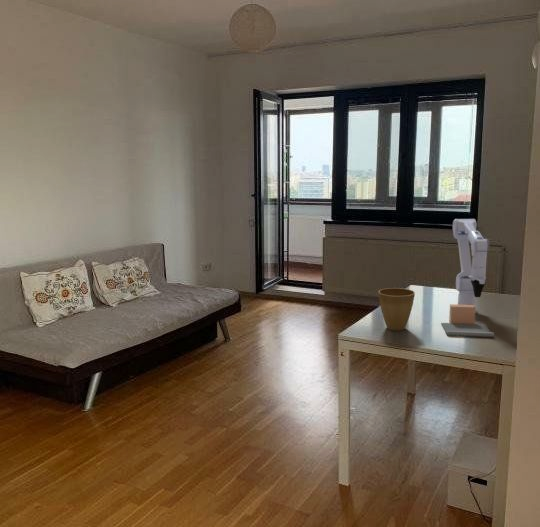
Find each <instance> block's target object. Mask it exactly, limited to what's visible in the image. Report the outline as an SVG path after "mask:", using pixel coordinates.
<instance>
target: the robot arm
mask: <svg viewBox="0 0 540 527" xmlns="http://www.w3.org/2000/svg"><path fill="white" fill-rule="evenodd" d="M477 226H478V225H477V221H476V218H455V219H454V220H453V221H452V234H453V237H454V239H456V240H457V245H458V246H457V247H458V254H459V263H460V272H459V273H458V274H457V275H456V278H455V288H456V291H457V292H459V293H458V296H457V305H474V306H475V307H476V298H481V296H482V293H483V289H484V287H485V285H486V284H487V283H486V279H487V276H486V272H487V254H488V253H489V250H490V240H489V239H488V238H484V236H482V233H481V232H480V230H477ZM469 243H470V244H469ZM470 248H471V251H470ZM471 256H472V259H471ZM476 313H478V312H477V310H475V314H476Z"/></svg>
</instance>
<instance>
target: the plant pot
mask: <svg viewBox="0 0 540 527" xmlns="http://www.w3.org/2000/svg"><path fill="white" fill-rule="evenodd" d="M415 294H416V293H415V291H414V290H412V289H409V288H401V287H391V288H390V287H387V288H383V289H380V290H378V299H379V304H380V309H381V313H382V314H381V315H382V317H383V320H384V323H385V326H386V328H387V329H388V330H390V331H395V332H396V331H403V330H405V329H406V327H407V325H408V322H409V319H410V316H411V312H412V308H413V305H414V300H415Z"/></svg>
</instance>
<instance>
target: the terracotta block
mask: <svg viewBox="0 0 540 527" xmlns="http://www.w3.org/2000/svg"><path fill="white" fill-rule="evenodd" d="M475 310H476V305H475V306H474V305H458V304H454V303H453V304H451V303H450V304H449V316H448V317H449V318H448V323H464V324H476V322H475V321H476V313H475ZM476 311H477V310H476Z"/></svg>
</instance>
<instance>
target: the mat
mask: <svg viewBox="0 0 540 527" xmlns="http://www.w3.org/2000/svg"><path fill="white" fill-rule="evenodd" d="M440 325H441V327H442V329H443V331H444V332H445V335H446V336H447V337H467V338H468V337H469V338H470V337H471V338H492V339H493V338H495V332H494V331H493V332H491V330H490V329H489V328H488V327H487V325H486V324H485V323H475V324H464V323H449V322H441V323H440Z"/></svg>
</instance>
